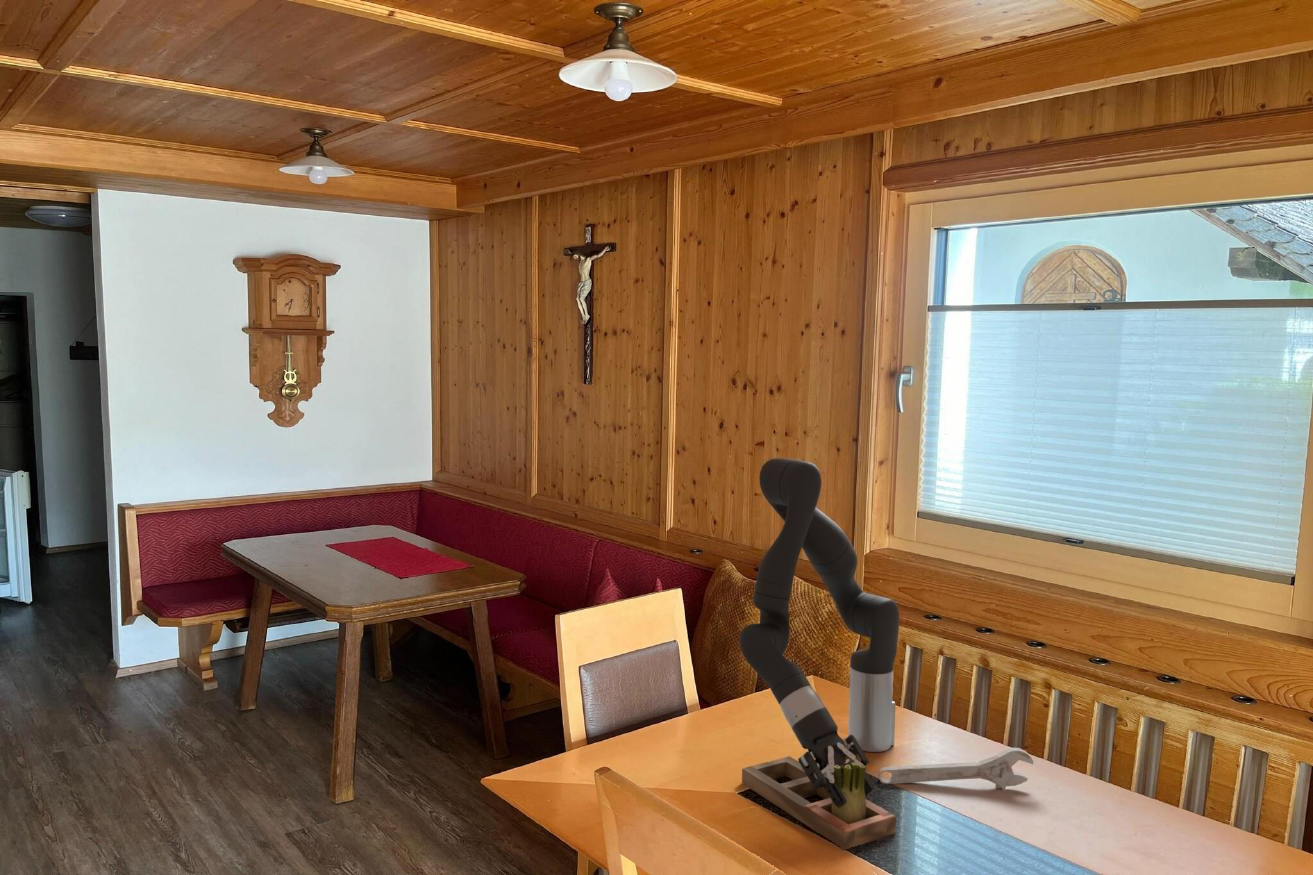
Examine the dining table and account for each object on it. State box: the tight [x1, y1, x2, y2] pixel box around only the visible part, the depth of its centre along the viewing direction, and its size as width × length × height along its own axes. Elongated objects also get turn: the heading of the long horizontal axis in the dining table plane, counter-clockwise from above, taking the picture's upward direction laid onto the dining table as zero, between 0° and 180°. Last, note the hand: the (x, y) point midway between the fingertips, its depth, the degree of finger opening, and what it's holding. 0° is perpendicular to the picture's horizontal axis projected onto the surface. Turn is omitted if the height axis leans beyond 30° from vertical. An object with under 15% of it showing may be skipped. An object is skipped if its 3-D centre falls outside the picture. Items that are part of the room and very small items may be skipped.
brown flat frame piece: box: [741, 755, 897, 850], centre depth 179 cm, size 12×30×3 cm, turn 31°
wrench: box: [877, 747, 1034, 791], centre depth 188 cm, size 8×2×30 cm
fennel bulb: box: [832, 763, 867, 824], centre depth 170 cm, size 6×5×12 cm
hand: (856, 798), depth 169 cm, fingers open, 7 cm apart
